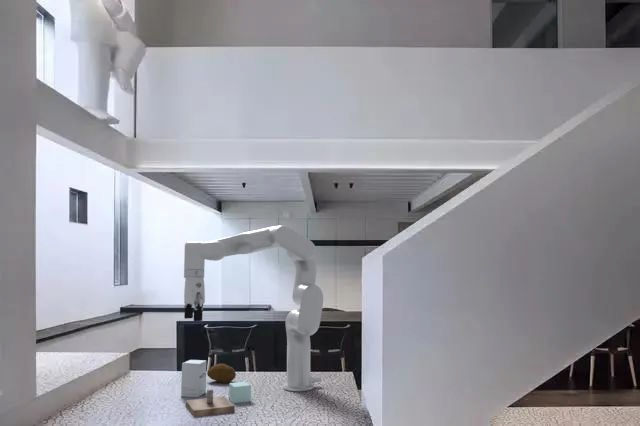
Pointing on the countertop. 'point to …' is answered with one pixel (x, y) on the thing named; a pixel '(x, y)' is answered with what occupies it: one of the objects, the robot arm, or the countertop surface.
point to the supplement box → (193, 378)
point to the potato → (221, 373)
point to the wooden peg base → (209, 405)
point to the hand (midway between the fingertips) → (193, 319)
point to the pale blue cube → (239, 392)
